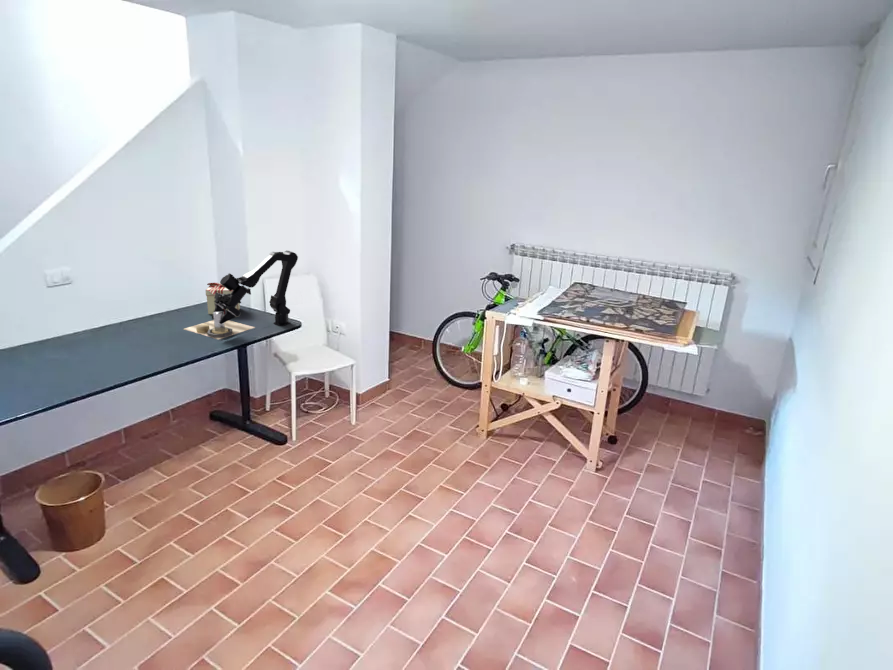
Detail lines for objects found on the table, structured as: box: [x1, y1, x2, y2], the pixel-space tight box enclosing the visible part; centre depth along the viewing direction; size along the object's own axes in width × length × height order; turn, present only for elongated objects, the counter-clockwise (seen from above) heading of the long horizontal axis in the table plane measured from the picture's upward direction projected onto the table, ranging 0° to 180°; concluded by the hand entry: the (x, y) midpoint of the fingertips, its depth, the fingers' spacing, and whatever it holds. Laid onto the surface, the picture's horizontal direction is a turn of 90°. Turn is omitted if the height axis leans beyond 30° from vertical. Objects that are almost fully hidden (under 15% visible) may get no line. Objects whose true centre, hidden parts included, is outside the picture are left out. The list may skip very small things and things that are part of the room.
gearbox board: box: [184, 319, 256, 342], centre depth 284 cm, size 23×26×4 cm
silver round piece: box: [212, 311, 228, 334], centre depth 275 cm, size 8×8×11 cm
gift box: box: [205, 282, 241, 315], centre depth 309 cm, size 17×18×17 cm
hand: (216, 321), depth 273 cm, fingers open, 9 cm apart
